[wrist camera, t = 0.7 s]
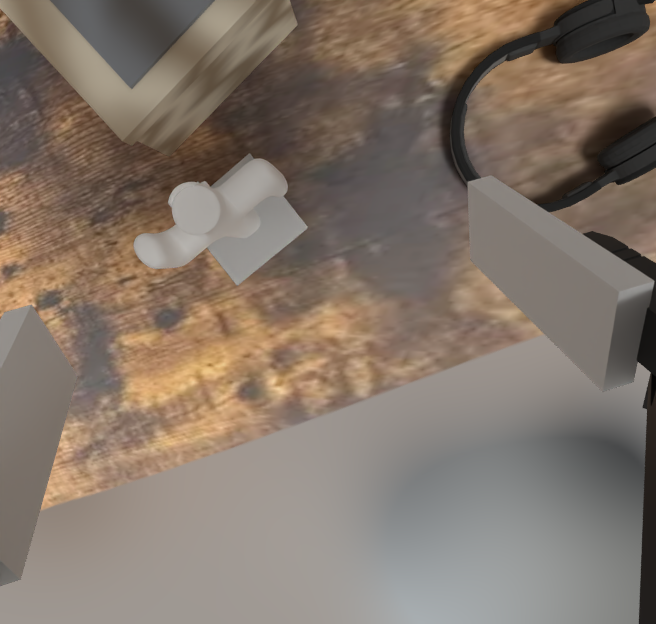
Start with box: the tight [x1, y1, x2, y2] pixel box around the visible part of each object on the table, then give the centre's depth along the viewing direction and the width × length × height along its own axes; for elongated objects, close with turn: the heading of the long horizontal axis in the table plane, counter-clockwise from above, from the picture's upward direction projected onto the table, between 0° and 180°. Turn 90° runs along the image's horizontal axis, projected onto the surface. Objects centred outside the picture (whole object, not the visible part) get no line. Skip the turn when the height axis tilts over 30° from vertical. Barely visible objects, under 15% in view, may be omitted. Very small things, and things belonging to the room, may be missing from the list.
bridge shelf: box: [0, 0, 298, 157], centre depth 38 cm, size 16×14×8 cm
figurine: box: [134, 153, 308, 286], centre depth 36 cm, size 7×9×15 cm
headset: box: [450, 0, 656, 212], centre depth 36 cm, size 13×9×19 cm
